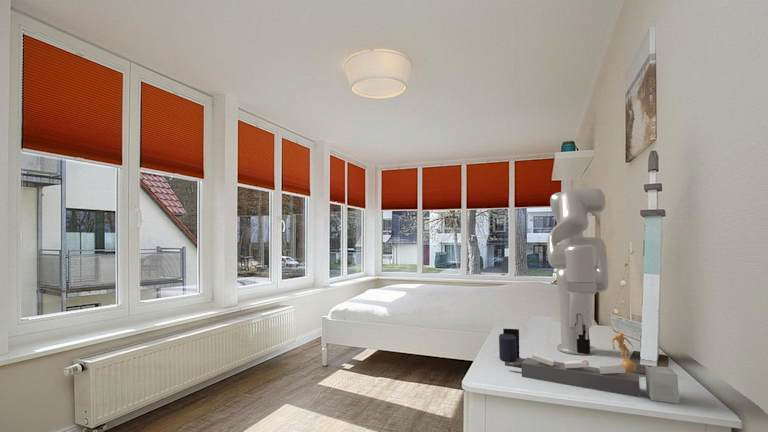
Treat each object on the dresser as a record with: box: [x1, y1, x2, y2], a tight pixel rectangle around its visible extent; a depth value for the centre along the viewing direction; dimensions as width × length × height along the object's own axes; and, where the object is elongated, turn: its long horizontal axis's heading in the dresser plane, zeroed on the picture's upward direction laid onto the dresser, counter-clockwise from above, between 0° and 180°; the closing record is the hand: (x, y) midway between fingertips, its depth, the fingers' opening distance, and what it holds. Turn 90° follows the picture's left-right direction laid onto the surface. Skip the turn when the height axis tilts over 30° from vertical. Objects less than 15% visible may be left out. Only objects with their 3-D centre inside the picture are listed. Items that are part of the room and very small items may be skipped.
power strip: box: [504, 357, 641, 398], centre depth 117 cm, size 7×36×4 cm, turn 56°
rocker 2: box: [563, 359, 590, 368], centre depth 114 cm, size 3×6×1 cm, turn 56°
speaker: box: [498, 328, 520, 363], centre depth 138 cm, size 8×6×10 cm
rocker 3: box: [599, 364, 626, 374], centre depth 109 cm, size 3×6×1 cm, turn 56°
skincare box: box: [644, 365, 680, 404], centre depth 103 cm, size 6×6×7 cm
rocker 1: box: [531, 352, 556, 366], centre depth 119 cm, size 3×6×1 cm, turn 56°
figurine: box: [611, 332, 637, 373], centre depth 124 cm, size 8×6×12 cm
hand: (583, 352), depth 113 cm, fingers closed
